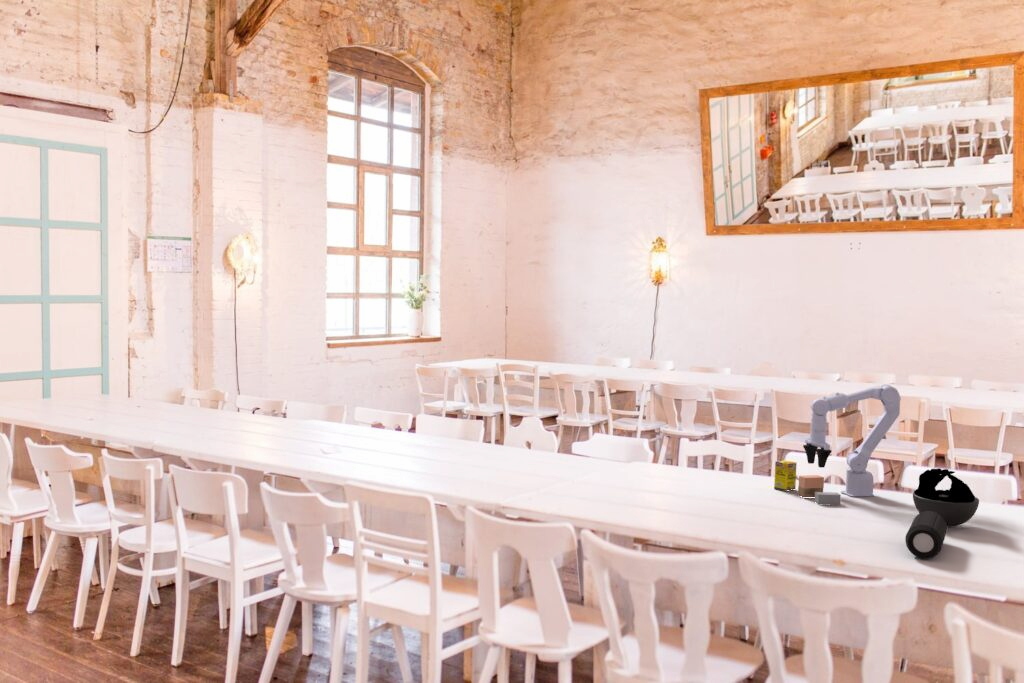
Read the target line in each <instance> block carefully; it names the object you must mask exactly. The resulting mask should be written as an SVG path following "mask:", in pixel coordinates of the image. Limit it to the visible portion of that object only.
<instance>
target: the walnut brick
mask: <svg viewBox="0 0 1024 683" xmlns="http://www.w3.org/2000/svg"><path fill="white" fill-rule="evenodd" d="M797 487H798V488H797V496H798V495H799V496H802V497H815V492H824V488H806V489H804V488H802V487H799V485H798V486H797Z"/></svg>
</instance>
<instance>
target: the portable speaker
mask: <svg viewBox="0 0 1024 683" xmlns="http://www.w3.org/2000/svg"><path fill="white" fill-rule="evenodd" d="M947 533H948V527H947V523H946V521H945V519H944V518H943V517H942V516H941V515H939V514H938V513H936V512H933V511H924V512H921V513H919V512H918V514H916V516H915V517H914V518H913V520H912V522H911V524H910V526H909V528H908V530H907V532H906V535H905V545H906V548H907V550H908V551H909V552H910V553H911V554H912V555H913V556H915V557H917V558H918V559H923V560H924V559H925V560H928V559H933V558H935V557H936V556H937V555H939V554H940V553H941V550H942V548H943V544H944V541H945V537H946V535H947Z"/></svg>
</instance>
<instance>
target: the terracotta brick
mask: <svg viewBox="0 0 1024 683" xmlns="http://www.w3.org/2000/svg"><path fill="white" fill-rule="evenodd" d="M824 484H825V477H824V476H821V475H819V474H815V475H812V474H811V475H799V476H798V486H799V487H802V488H804V489H806V488H823V489H824V487H825V486H824Z"/></svg>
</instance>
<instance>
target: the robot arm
mask: <svg viewBox="0 0 1024 683" xmlns="http://www.w3.org/2000/svg"><path fill="white" fill-rule="evenodd" d="M867 399H873V400H878V401H880V402H881V403H882V406H883V410H884V412H883V413H882V414H881V415H880V417H879V419H878V420H877V421H876V423H875V424H874V426H873V427H872V428H871V430H870V431H869V432H868V434H867V435H866V437H865V438H864V439H863V441H862V442H861V443H860V445H859V446H857V447H856V448H855V450H854V451H852V452H851V453H849V454H848V455H847V457H846V464H847V465H848V467H847V468H846V470H845V473H846V475H845V490H841V491H840V493H842V494H844V495H847V496H850V497H851V498H852V497H854V498H855V497H874V496H875V495H874V476H873V474H872V472H870V471H868V470H867V468H868V463H869V461H870V459H871V457H872V453H873V452H874V451H875V450H876V448H877V446H878V445H879V444H880V443H881V441H882V439H884V437H885V435H886V434H887V432H888V431H889V430H890V429H891V427H892V426H893V425H894V423H895V422H896V420H898V417H899V416H900V414H901V412H900V411H901V406H900V405H901V400H902V399H901V396H900V393H899V391H898V389H897V388H896V387H894V386H892V385H890V384H882V385H875V386H870V387H868V388H865V389H861V390H858V391H855V392H851V393H848V394H845V393H843V392H840V393H839V392H835V393H834V394H831V395H829V396H822V398H815V399H814V400H812V402H811V404H810V408H811V418H810V432H809V438H805V442H804V444H803V445H802V447H803V449H804V451H805V454H806V459H807V463H808V464H814V463H815V458H816V455H817V465H818V466H817V467H818V468H825V467H826V463H827V460H828V458H829V456H830V455H831V453H832V450H831V444H830V443H827V442H826V438H827V437H826V436H827V421H828V420H827V414H828V412H834V411H837V410H838V411H839V410H840V409H844V408H847V407H848V405H850V403H855V402H859V401H863V400H867Z"/></svg>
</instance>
